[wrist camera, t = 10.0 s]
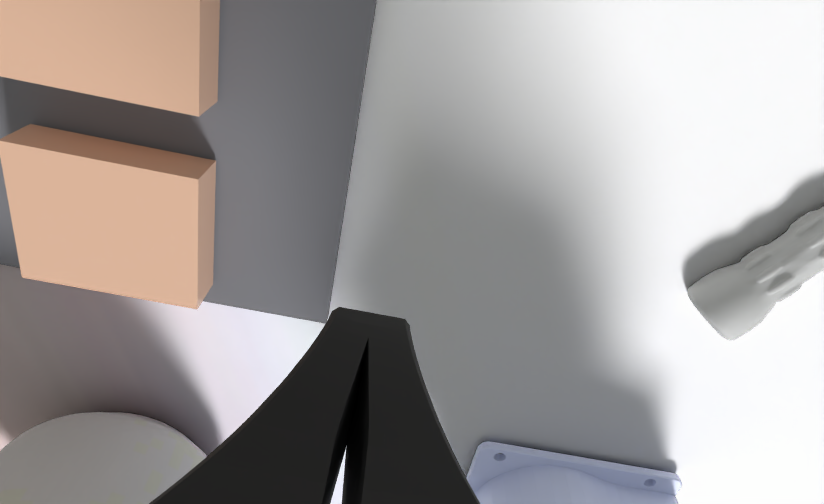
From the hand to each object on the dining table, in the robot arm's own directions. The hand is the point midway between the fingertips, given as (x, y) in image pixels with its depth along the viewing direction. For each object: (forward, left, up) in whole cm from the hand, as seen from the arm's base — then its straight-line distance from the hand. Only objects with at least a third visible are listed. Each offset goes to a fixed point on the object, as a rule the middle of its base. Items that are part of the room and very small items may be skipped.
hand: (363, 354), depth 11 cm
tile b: (+6, -4, -8) cm, 11 cm away
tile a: (+6, +3, -8) cm, 11 cm away
